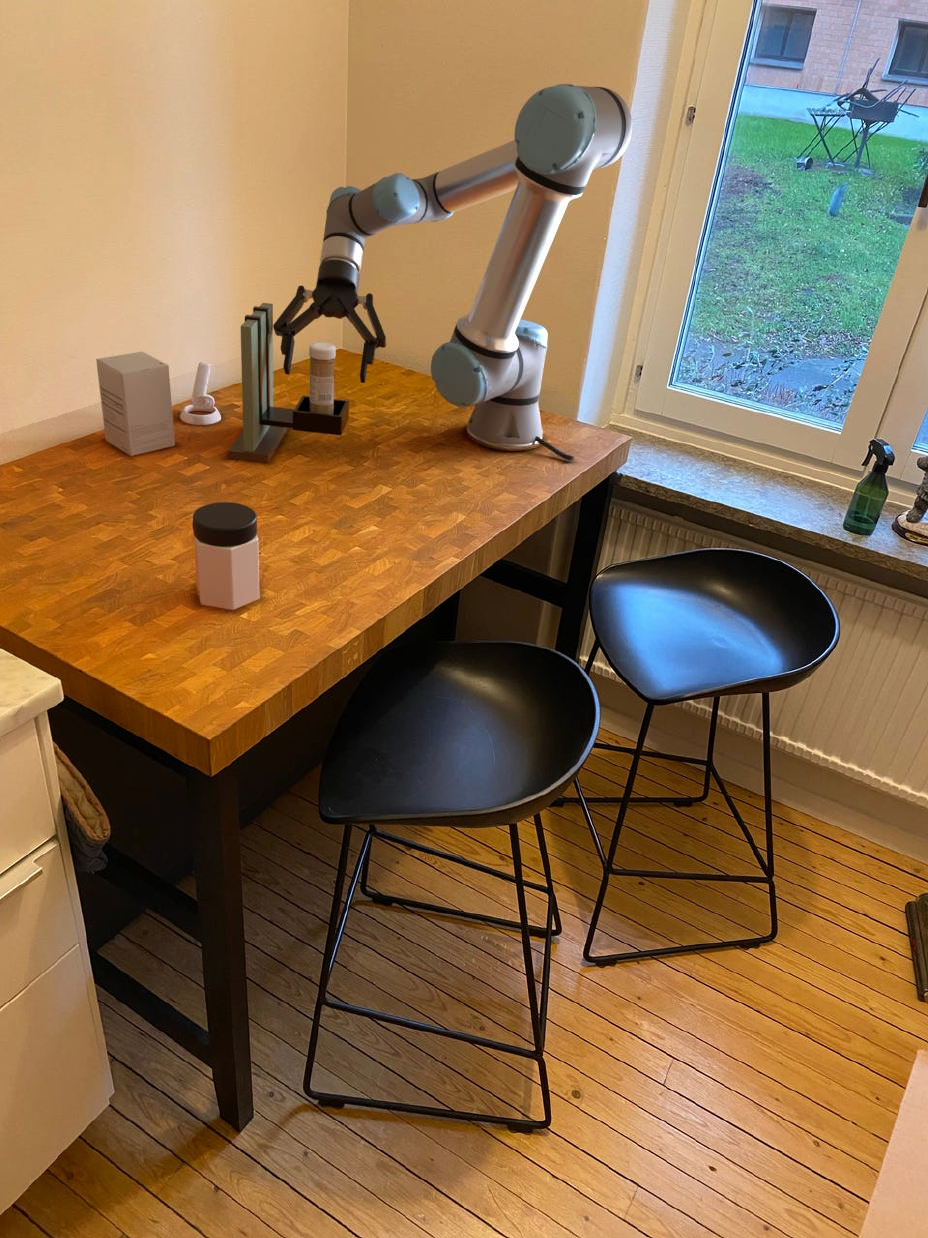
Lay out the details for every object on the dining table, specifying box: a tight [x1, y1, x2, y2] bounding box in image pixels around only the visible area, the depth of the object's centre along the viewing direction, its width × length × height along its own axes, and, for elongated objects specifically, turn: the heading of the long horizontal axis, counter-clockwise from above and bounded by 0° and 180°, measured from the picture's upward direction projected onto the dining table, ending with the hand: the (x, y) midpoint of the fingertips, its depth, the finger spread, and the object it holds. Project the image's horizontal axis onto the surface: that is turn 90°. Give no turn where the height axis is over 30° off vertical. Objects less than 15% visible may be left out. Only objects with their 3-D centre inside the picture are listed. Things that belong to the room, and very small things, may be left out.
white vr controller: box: [179, 361, 222, 426], centre depth 181 cm, size 8×12×7 cm
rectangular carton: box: [95, 351, 176, 457], centre depth 164 cm, size 9×9×15 cm
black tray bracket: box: [244, 305, 350, 437], centre depth 166 cm, size 17×9×19 cm, turn 87°
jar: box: [191, 501, 261, 611], centre depth 125 cm, size 9×8×12 cm
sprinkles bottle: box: [308, 341, 337, 415], centre depth 167 cm, size 5×5×14 cm
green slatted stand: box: [227, 302, 289, 464], centre depth 167 cm, size 7×17×24 cm, turn 177°
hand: (324, 375), depth 167 cm, fingers open, 13 cm apart
